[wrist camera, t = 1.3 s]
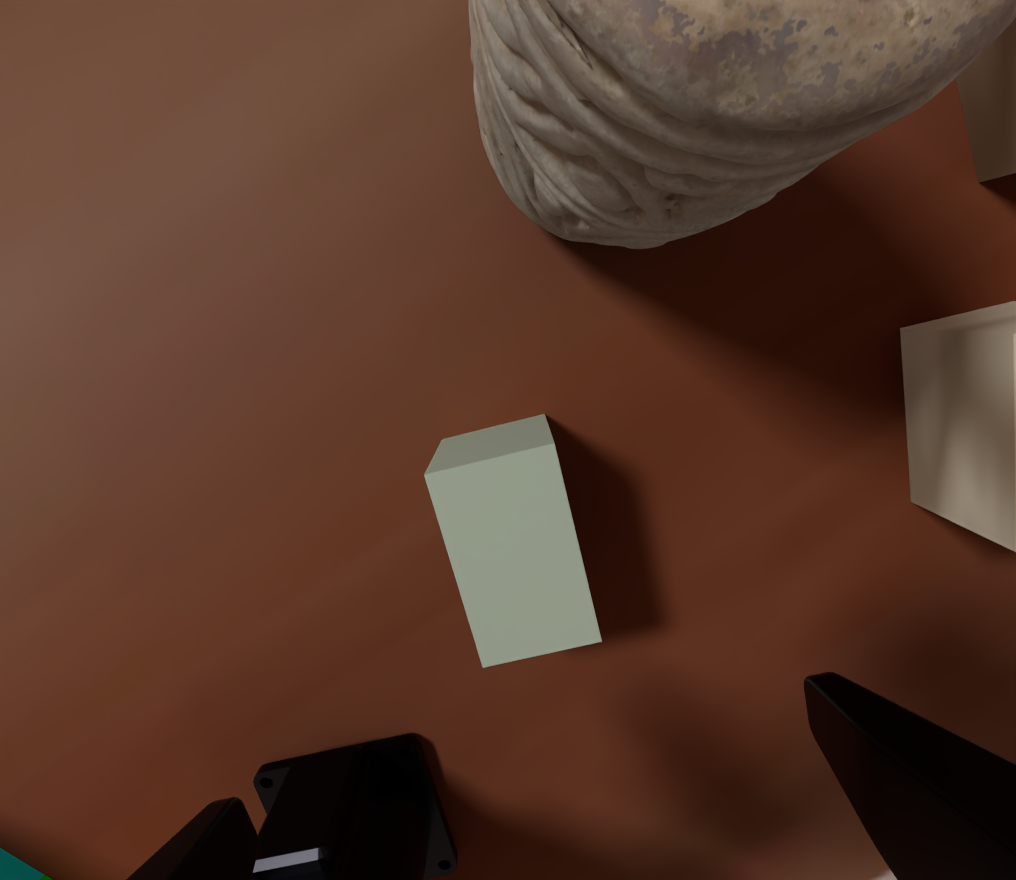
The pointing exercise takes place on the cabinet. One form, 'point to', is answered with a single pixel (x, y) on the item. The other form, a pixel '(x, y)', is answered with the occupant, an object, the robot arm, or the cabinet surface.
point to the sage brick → (512, 541)
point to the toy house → (17, 869)
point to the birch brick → (964, 418)
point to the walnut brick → (992, 106)
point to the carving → (697, 99)
